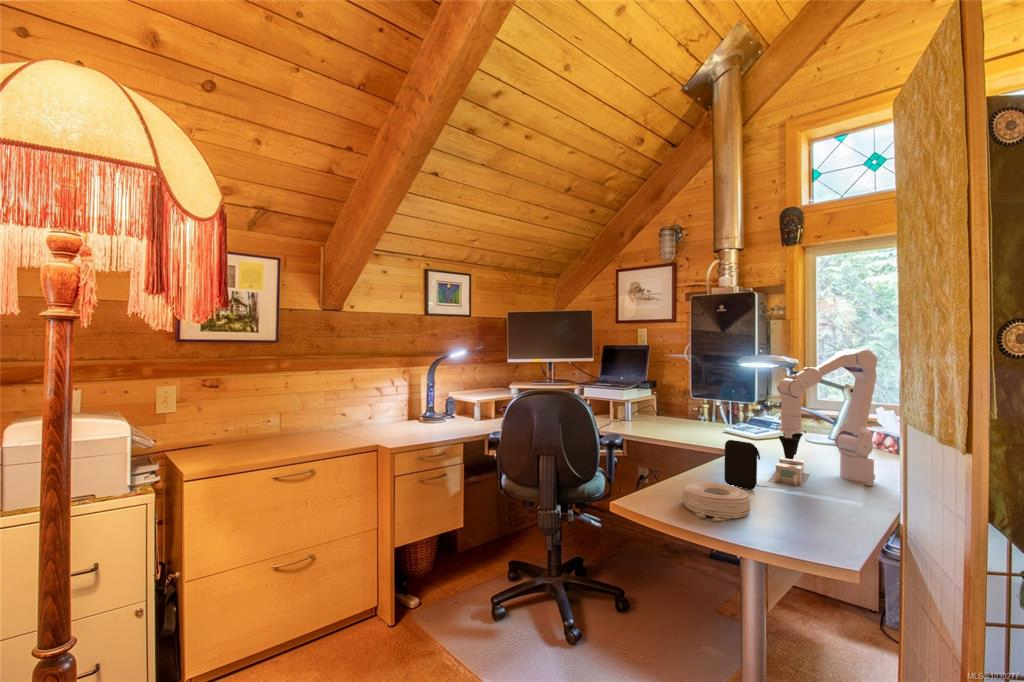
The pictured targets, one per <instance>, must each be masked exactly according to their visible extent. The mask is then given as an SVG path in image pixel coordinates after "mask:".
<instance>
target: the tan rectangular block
mask: <svg viewBox="0 0 1024 682" xmlns="http://www.w3.org/2000/svg"><path fill="white" fill-rule="evenodd" d="M778 463H782V464H789V465H797V466H802V477H803V476H804V473H805V459H799V458H798V459H797V458H793V459H786V458H785V456H780V458H779V461H778Z"/></svg>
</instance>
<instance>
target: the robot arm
mask: <svg viewBox="0 0 1024 682" xmlns="http://www.w3.org/2000/svg"><path fill="white" fill-rule="evenodd" d="M877 363H878V357H877V356H876V354H874V352H873V351H872V350H870V349H866V348H865V349H850V348H849V349H848V348H843V349H840V350H839V351H837V352H835V353H834V355H833V356H831V357H830V358H828V359H826V360H825V361H823V362H822V363H820V364H818V366H815V367H812V366H805V367H803V368H802V370H801V371H800V372H798V373H796V374H792V375H791V377H790V378H786V377H785V378H783V379H782V380H780V381H779V384H778V386H777V387H776V389H777V392H778V393H779V395H780V397H779V398H780V400H781V401H780V403H781V404H780V406H781V407H780V408H781V409H780V410H781V411H780V413H781V414H780V416H781V417H780V423H781V424H780V426H777V428H776V430H778V431H781V432H782V434H783V435H778V438H779V441H780V443H781V446H782V449H783V452H784V457H785V458H786V459H795V458H794V457H795V456H796V455H797V452H798V447H799V443H800V440H801V438H802V436H803V435H804V434H803V430H802V397H804V395H805V394H806V391H807V390H809V389H810V388H812V387H814V386H815V385H817V384H819V383H821V382H822V380H823V377H824V376H826V375H829V374H831V373H832V372H835V371H836V370H839V369H840V368H843V369H844V370H846V371H847V372H849V373H850V374H851V375H852V376H853V378H854V379H855V380H854V385H853V390H852V393H851V394H852V395H851V399H850V403H849V404H850V405H849V409H848V415H847V421H846V423H845V424H843V425H842V426H840V427H839V430H838V433H837V434H836V436H835V437H834V444H835V447H836V448H837V449H838V452H839V453H840V454H839V457H840V460H839V476H840V478H842V479H845V480H847V481H853V482H863V485H864V486H870V487H874V486H875V485H874V482H875V480H876V474H875V473H874V471H875V469H874V468H875V456H870V454H871V453H872V451H873V449H874V444H873V434H872V432H871V431H870V430H869V429H868V428H867V427H868V420H869V415H870V410H871V405H872V400H873V396H874V391H875V390H874V389H875V387H876V380H877V365H878V364H877Z"/></svg>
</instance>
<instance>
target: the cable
mask: <svg viewBox="0 0 1024 682" xmlns="http://www.w3.org/2000/svg"><path fill="white" fill-rule="evenodd" d="M681 500H682V503H683V504H684V507H686V509H688V510H689V511H690V512H691V511H692V512H693V513H694V514H695V515H696V516H697V517H698V518H700V519H701V520H704V519H706V518H707V517H706V516H708V517H712V518H711V519H710V522H713V523H714V522H716V521H718V522H724V521H728V520H727V519H729V520H731V519H730V518H733V519H739V518H743V517H746V516H748V515H749V514H750V512H751V497H750V495H749V494H748V492H746V491H745V490H744V489H743V488H739V487H734V486H731V485H728V484H727V483H721V482H712V481H702V482H695V483H691V484H690V483H689V484H687V485H686V486H685V487H684V489H683V492H682V497H681ZM716 523H717V522H716Z"/></svg>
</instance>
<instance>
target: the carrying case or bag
mask: <svg viewBox="0 0 1024 682" xmlns="http://www.w3.org/2000/svg"><path fill="white" fill-rule="evenodd" d="M758 460H759V461H761V454H760V451H759V450H758V447H756V445H755V444H754V443H753V442H749V441H742V440H741V441H740V440H735V439H728V440H727V441H725V443H724V474H723V475H724V476H723V477H724V482H725V484H727V485H728V484H729V485H734V486H738V487H737V488H739V487H742V488H741V489H743V488H747V489H746V490H748V489H751V490H750V491H752V490H754V489H755V488H756V487H757V485H758V483H757V482H758V479H757V477H758Z"/></svg>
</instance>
